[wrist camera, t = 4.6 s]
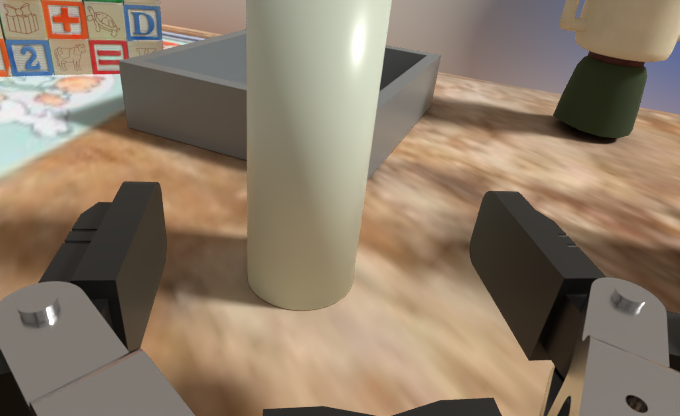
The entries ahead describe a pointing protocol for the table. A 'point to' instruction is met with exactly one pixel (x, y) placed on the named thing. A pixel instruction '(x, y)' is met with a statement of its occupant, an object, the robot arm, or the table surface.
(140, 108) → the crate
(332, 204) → the canister
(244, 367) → the table surface
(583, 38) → the character mug
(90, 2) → the stack of blocks
